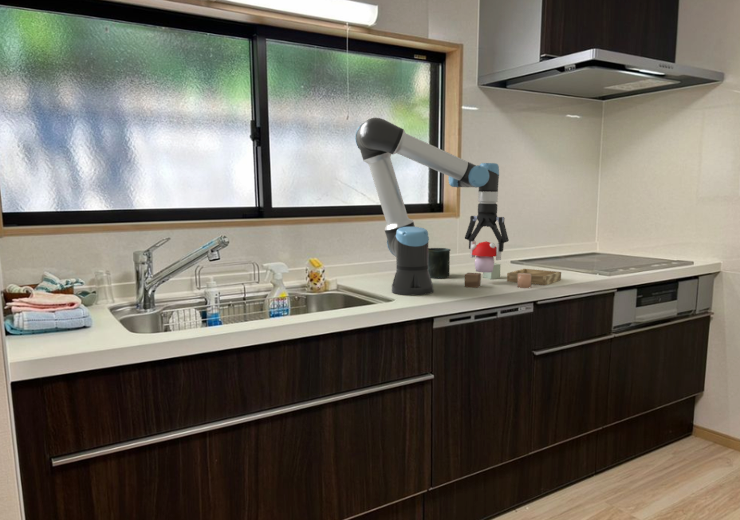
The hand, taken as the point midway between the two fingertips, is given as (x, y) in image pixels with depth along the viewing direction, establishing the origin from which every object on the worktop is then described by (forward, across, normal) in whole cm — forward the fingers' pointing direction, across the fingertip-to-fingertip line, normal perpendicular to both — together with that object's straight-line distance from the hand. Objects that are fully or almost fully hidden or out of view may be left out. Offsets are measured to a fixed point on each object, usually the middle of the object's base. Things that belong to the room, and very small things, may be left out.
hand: (485, 258), depth 216 cm
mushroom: (+5, 0, 0) cm, 5 cm away
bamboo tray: (+9, -14, -17) cm, 23 cm away
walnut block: (+10, -1, +10) cm, 14 cm away
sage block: (+10, +3, -13) cm, 16 cm away
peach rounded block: (+9, -17, -1) cm, 19 cm away
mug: (+10, +24, -2) cm, 27 cm away
